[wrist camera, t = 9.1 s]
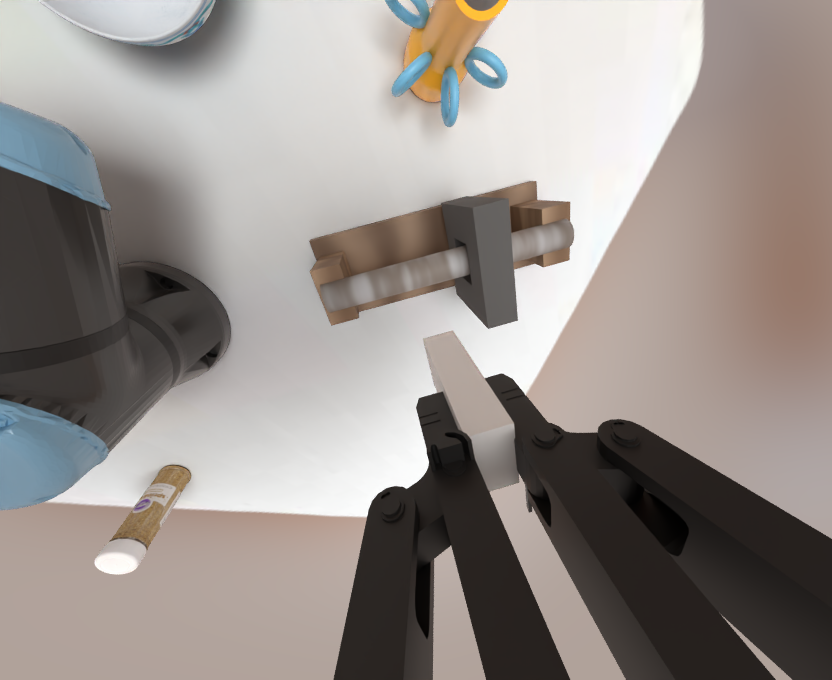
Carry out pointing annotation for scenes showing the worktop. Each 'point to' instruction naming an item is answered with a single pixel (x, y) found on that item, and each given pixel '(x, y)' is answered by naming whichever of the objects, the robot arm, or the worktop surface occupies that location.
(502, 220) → the collar
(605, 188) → the worktop surface
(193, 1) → the chinaware
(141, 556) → the sprinkles bottle
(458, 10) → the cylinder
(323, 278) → the pipe stand
